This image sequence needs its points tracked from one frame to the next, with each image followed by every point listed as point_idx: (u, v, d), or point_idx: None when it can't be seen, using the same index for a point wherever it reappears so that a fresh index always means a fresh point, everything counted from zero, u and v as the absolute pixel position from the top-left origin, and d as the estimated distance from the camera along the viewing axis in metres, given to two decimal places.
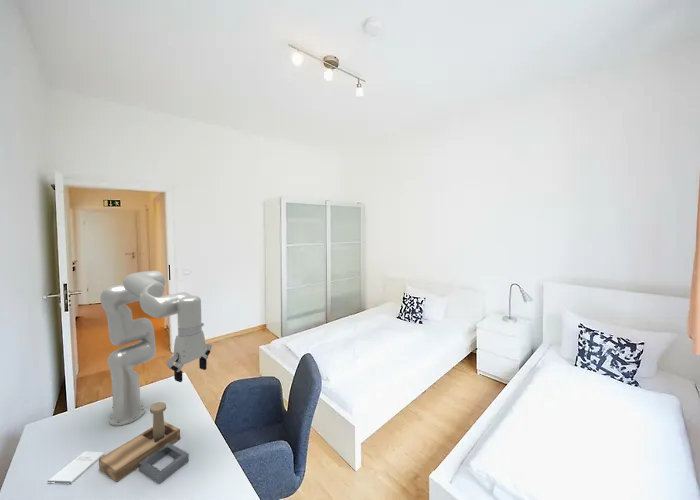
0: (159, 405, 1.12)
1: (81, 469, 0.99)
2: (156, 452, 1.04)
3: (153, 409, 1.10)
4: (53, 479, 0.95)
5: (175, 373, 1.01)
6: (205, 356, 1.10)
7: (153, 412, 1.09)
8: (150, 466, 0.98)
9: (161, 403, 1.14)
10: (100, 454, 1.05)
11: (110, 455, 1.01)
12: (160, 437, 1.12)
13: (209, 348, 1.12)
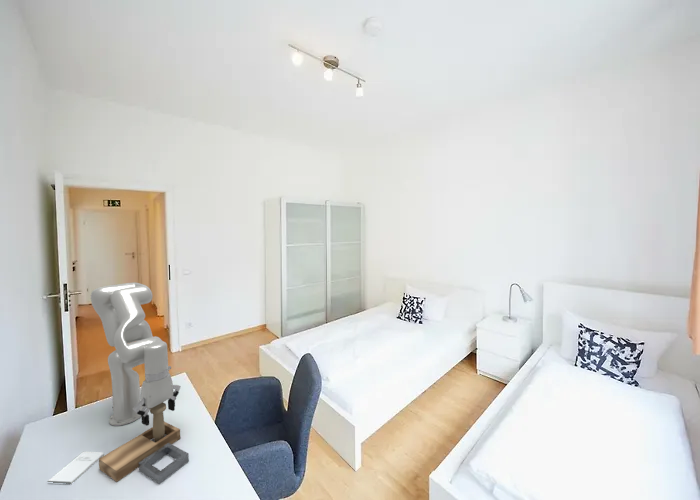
0: (159, 405, 1.12)
1: (81, 469, 0.99)
2: (156, 452, 1.04)
3: (153, 409, 1.10)
4: (53, 479, 0.95)
5: (142, 417, 1.06)
6: (173, 397, 1.15)
7: (153, 412, 1.09)
8: (150, 466, 0.98)
9: (161, 403, 1.14)
10: (100, 454, 1.05)
11: (110, 455, 1.01)
12: (160, 437, 1.12)
13: (177, 389, 1.18)
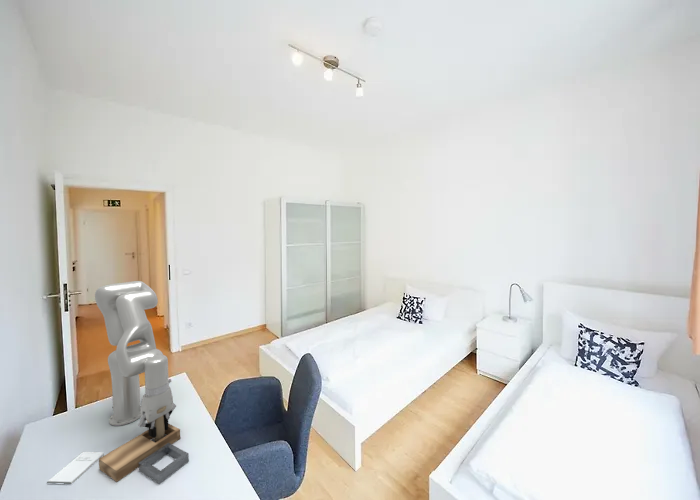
0: None
1: (81, 469, 0.99)
2: (156, 452, 1.04)
3: None
4: (53, 480, 0.94)
5: (149, 430, 1.10)
6: (167, 416, 1.14)
7: None
8: (150, 466, 0.98)
9: None
10: (99, 454, 1.05)
11: (110, 455, 1.01)
12: (160, 437, 1.12)
13: (172, 408, 1.17)
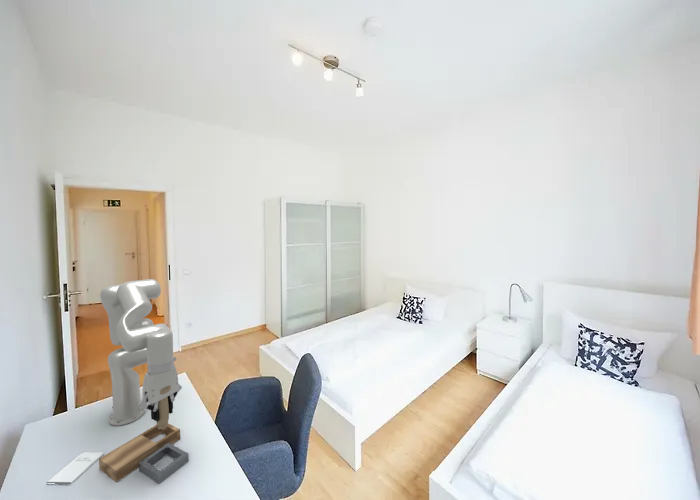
0: None
1: (81, 470, 0.98)
2: (156, 452, 1.04)
3: None
4: (52, 480, 0.94)
5: (151, 412, 0.97)
6: (172, 398, 1.02)
7: None
8: (150, 466, 0.98)
9: None
10: (99, 454, 1.05)
11: (110, 455, 1.01)
12: (164, 421, 0.99)
13: (178, 389, 1.05)
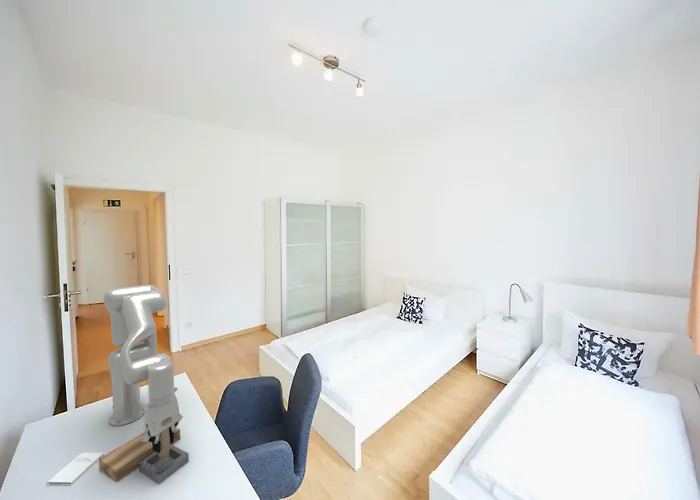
0: None
1: (80, 470, 0.98)
2: (156, 452, 1.04)
3: None
4: (52, 480, 0.94)
5: (153, 444, 0.98)
6: (173, 428, 1.03)
7: None
8: (150, 466, 0.98)
9: None
10: (99, 455, 1.05)
11: (110, 455, 1.01)
12: (165, 452, 1.00)
13: (179, 419, 1.06)
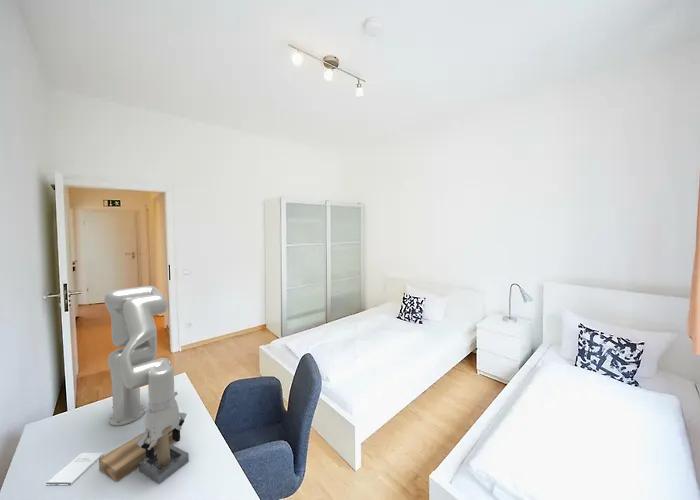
0: None
1: (80, 470, 0.98)
2: (156, 452, 1.04)
3: None
4: (52, 481, 0.94)
5: (146, 450, 0.96)
6: (178, 427, 1.05)
7: None
8: (150, 466, 0.98)
9: None
10: (99, 455, 1.05)
11: (110, 455, 1.01)
12: (165, 460, 1.01)
13: (183, 417, 1.07)
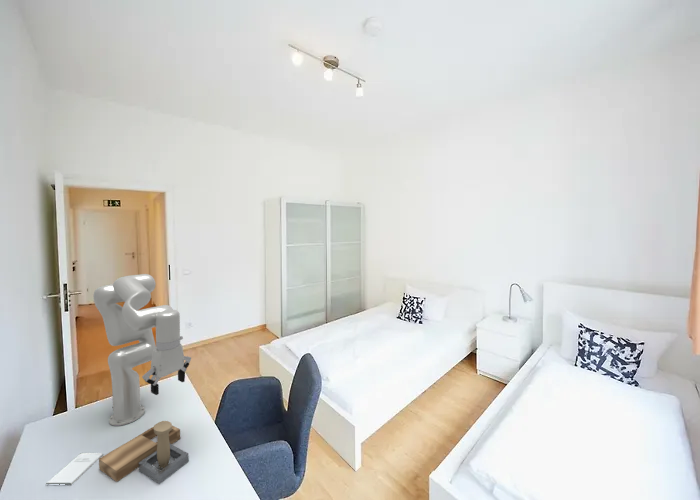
0: (164, 425, 1.01)
1: (80, 470, 0.98)
2: (156, 452, 1.04)
3: (158, 430, 0.99)
4: (52, 481, 0.94)
5: (151, 386, 1.02)
6: (183, 369, 1.11)
7: (157, 432, 0.98)
8: (150, 466, 0.98)
9: (166, 422, 1.03)
10: (98, 455, 1.05)
11: (110, 455, 1.01)
12: (165, 460, 1.01)
13: (188, 360, 1.13)
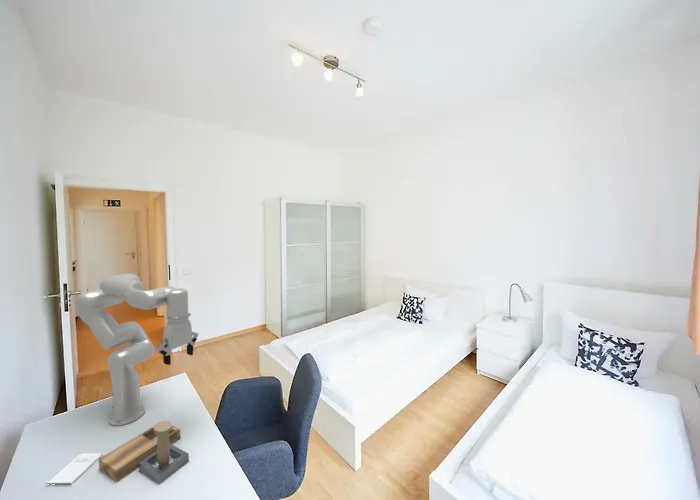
0: (164, 425, 1.01)
1: (80, 470, 0.98)
2: (156, 452, 1.04)
3: (157, 430, 0.99)
4: (52, 481, 0.94)
5: (164, 357, 1.13)
6: (192, 343, 1.22)
7: (157, 432, 0.98)
8: (150, 466, 0.98)
9: (166, 422, 1.03)
10: (98, 455, 1.05)
11: (110, 455, 1.01)
12: (165, 460, 1.01)
13: (196, 336, 1.25)
